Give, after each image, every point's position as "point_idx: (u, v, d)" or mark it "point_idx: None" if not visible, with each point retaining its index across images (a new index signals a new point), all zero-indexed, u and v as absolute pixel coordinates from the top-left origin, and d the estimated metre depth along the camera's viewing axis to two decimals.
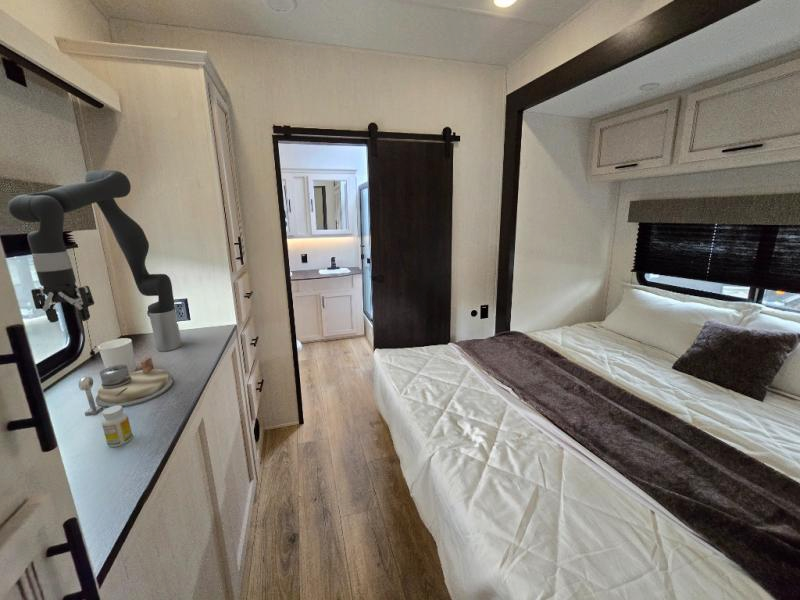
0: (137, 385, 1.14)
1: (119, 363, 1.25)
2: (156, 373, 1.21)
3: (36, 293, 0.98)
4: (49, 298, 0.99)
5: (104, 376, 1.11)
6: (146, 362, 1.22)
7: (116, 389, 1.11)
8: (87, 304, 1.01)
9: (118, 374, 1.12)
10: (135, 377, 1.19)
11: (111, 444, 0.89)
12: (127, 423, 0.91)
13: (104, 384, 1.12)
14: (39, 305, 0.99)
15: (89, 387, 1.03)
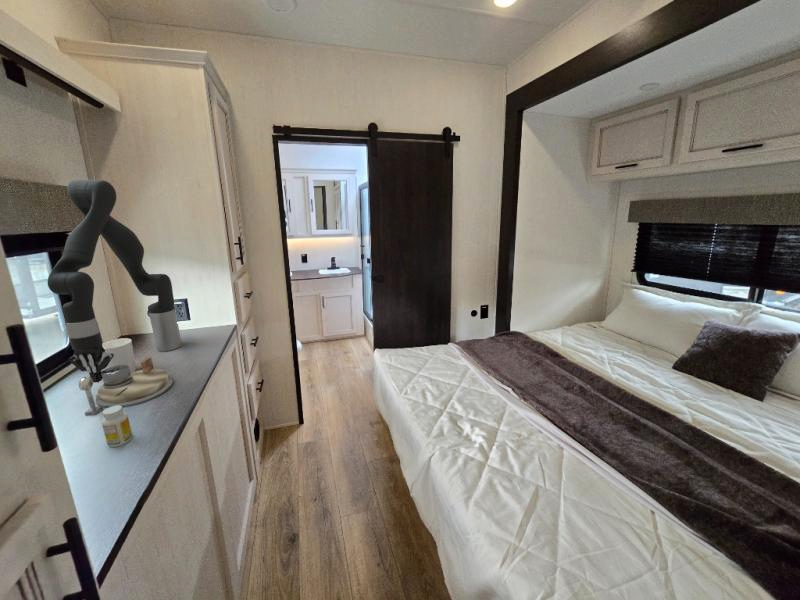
0: (137, 385, 1.14)
1: (119, 363, 1.25)
2: (156, 373, 1.21)
3: (73, 359, 1.11)
4: (83, 360, 1.10)
5: (105, 376, 1.11)
6: (146, 362, 1.22)
7: (116, 389, 1.11)
8: (101, 368, 1.12)
9: (120, 374, 1.12)
10: (135, 377, 1.19)
11: (111, 444, 0.89)
12: (127, 423, 0.91)
13: (106, 384, 1.12)
14: (84, 368, 1.12)
15: (89, 387, 1.03)
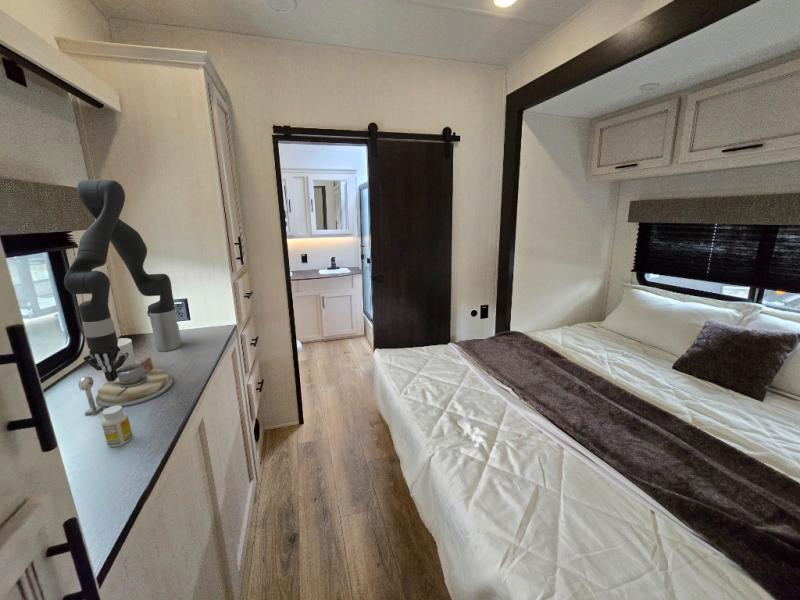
0: None
1: None
2: (156, 373, 1.22)
3: (88, 359, 1.11)
4: (98, 359, 1.11)
5: (121, 375, 1.11)
6: (146, 362, 1.22)
7: (116, 389, 1.11)
8: (116, 367, 1.12)
9: (135, 373, 1.13)
10: None
11: (111, 444, 0.89)
12: (127, 423, 0.91)
13: (121, 383, 1.12)
14: (99, 367, 1.12)
15: (89, 387, 1.03)
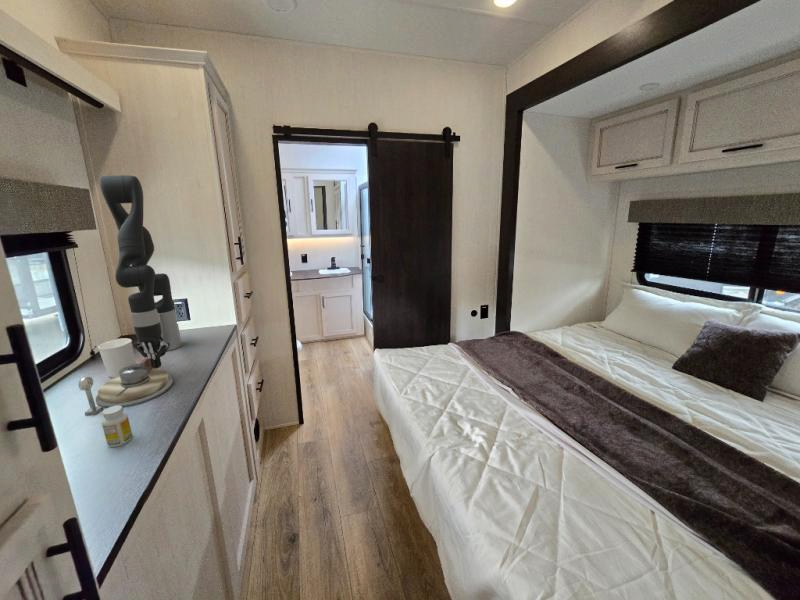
0: None
1: (119, 363, 1.25)
2: (156, 373, 1.22)
3: (137, 346, 1.21)
4: (144, 347, 1.20)
5: (123, 375, 1.11)
6: (145, 362, 1.22)
7: (116, 389, 1.11)
8: (158, 356, 1.21)
9: (137, 373, 1.13)
10: None
11: (111, 444, 0.89)
12: (127, 423, 0.91)
13: (123, 383, 1.12)
14: (146, 354, 1.21)
15: (89, 387, 1.03)
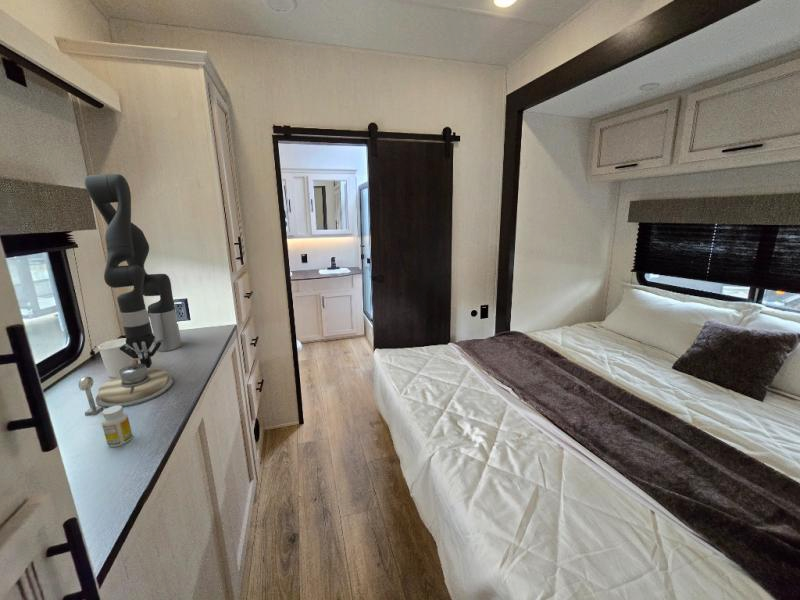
0: None
1: (119, 363, 1.25)
2: (150, 372, 1.22)
3: (124, 348, 1.19)
4: (136, 348, 1.20)
5: (129, 374, 1.12)
6: (136, 363, 1.21)
7: (121, 390, 1.11)
8: (153, 354, 1.22)
9: (142, 370, 1.14)
10: None
11: (111, 444, 0.89)
12: (127, 423, 0.91)
13: (128, 383, 1.12)
14: (135, 355, 1.21)
15: (89, 387, 1.03)
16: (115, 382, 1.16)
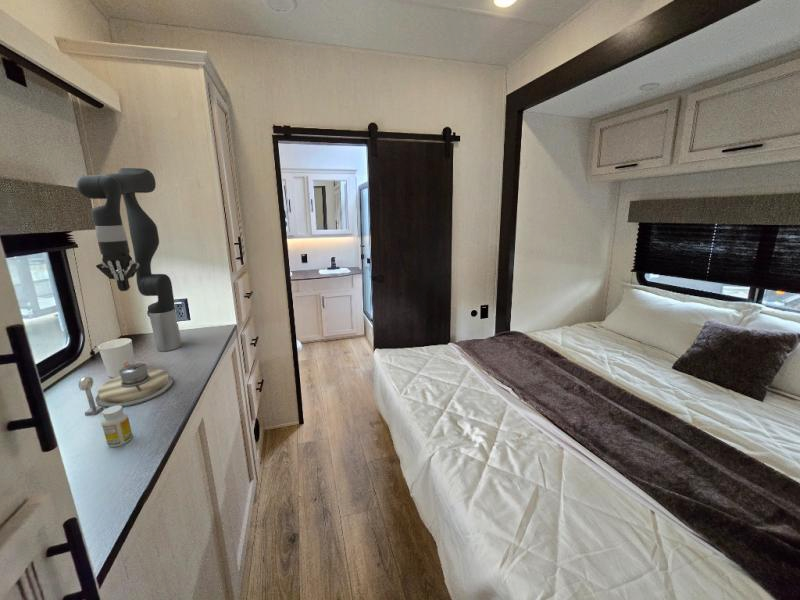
0: None
1: (119, 363, 1.25)
2: None
3: (101, 266, 1.13)
4: (111, 267, 1.13)
5: (132, 374, 1.12)
6: (129, 364, 1.20)
7: (126, 390, 1.11)
8: (128, 276, 1.15)
9: (144, 369, 1.15)
10: None
11: (111, 444, 0.89)
12: (127, 423, 0.91)
13: (131, 382, 1.13)
14: (112, 275, 1.14)
15: (89, 387, 1.03)
16: (112, 384, 1.14)
